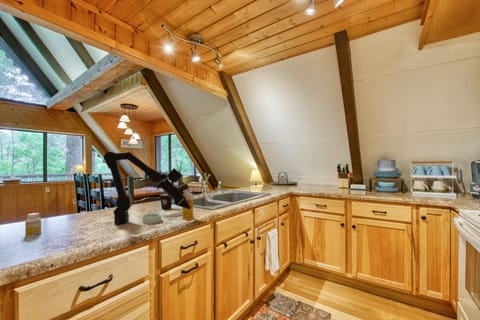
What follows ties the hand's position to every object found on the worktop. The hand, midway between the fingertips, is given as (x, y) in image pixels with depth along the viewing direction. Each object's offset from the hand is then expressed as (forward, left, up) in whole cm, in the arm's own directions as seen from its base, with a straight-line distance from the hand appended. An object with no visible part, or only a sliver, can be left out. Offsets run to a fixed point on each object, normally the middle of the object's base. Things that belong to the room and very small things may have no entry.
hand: (190, 207), depth 127 cm
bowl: (-12, +17, -7) cm, 22 cm away
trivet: (+4, +15, -7) cm, 17 cm away
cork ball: (-12, +17, -6) cm, 22 cm away
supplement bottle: (-45, +56, -7) cm, 72 cm away
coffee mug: (+20, +30, -7) cm, 37 cm away
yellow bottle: (-1, +1, -7) cm, 8 cm away
